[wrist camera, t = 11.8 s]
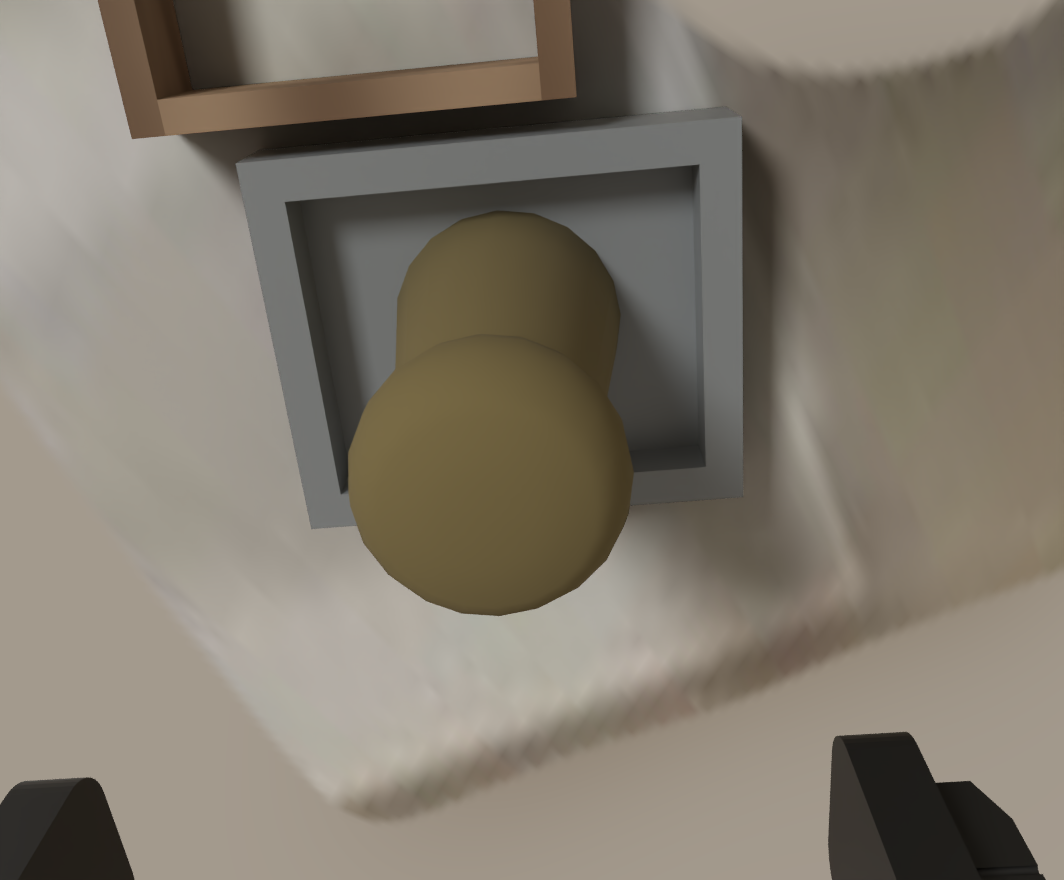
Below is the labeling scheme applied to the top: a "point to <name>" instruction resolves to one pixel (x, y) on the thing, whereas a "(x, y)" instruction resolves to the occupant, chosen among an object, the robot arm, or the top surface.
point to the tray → (532, 187)
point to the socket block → (315, 79)
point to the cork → (496, 421)
